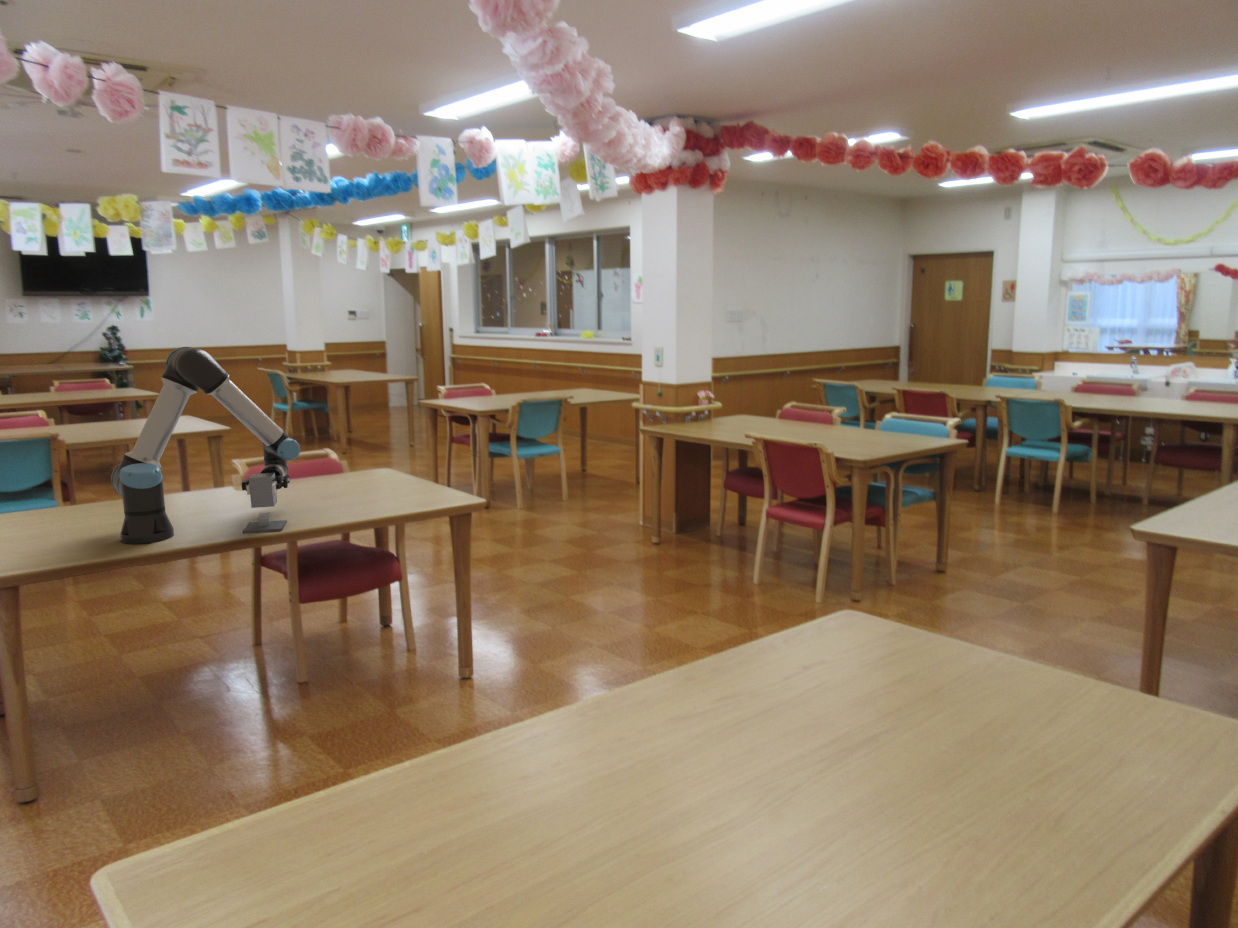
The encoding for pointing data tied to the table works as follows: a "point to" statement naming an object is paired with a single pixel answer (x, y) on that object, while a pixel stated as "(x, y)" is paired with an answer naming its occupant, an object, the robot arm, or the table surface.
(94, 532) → the table surface
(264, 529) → the base plate
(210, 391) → the robot arm
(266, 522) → the post
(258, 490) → the grey upright block
